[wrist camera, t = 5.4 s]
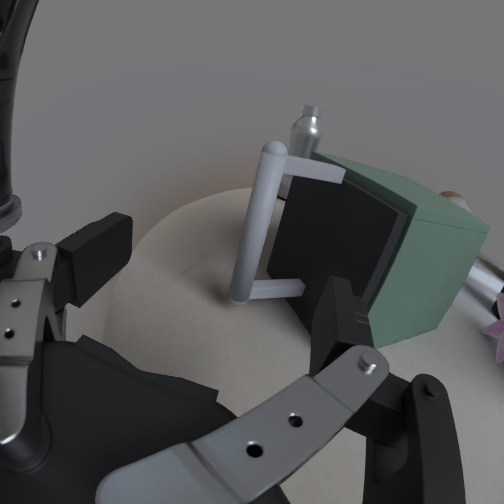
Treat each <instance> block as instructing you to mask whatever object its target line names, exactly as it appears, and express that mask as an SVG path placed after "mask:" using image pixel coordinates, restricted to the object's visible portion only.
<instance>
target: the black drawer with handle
mask: <svg viewBox="0 0 504 504" xmlns="http://www.w3.org/2000/svg"><path fill="white" fill-rule="evenodd" d="M345 171H346V170H345V169H343V168H341V167H339V166H336V165H332V164H328V163H324V162H319V161H315V160H311V159H309V158H306V157H301V156H298V157H296V156H291V155H288V152H287V148H286V147H285V145H283V143H281V142H279V141H270V142H268V143H266V144H265V145H264V146H263V148H262V151H261V155H260V159H259V163H258V168H257V172H256V176H255V180H254V184H253V188H252V193H251V197H250V201H249V205H248V210H247V214H246V218H245V223H244V227H243V231H242V236H241V240H240V244H239V249H238V253H237V258H236V262H235V266H234V271H233V275H232V280H231V284H230V289H229V293H228V298H229V301H230V302H231V303H232V304H233V305H235V306H243V305H245V304H246V303H247V302H248V300H249V299H265V298H281V297H285V298H286V299H287V301H288V302H289V304H290V305H291V306H292V308H293V309H294V311H295V312H296V314H297V315H298V317H299V318H300V319H301V321H302V322H303V324H304V325H305V327H306V328H307V330H308V331H309V333H310V334H311V335H312V321H313V317H314V313H315V310H316V308H317V305H318V303H319V300H320V298H321V296H322V293H323V291H324V289H325V286H326V284H327V281H328V279H329V277H330V276H331V275H332V276H336V277H339V278H343V279H346V280H349V281H350V282H351V287H352V293H353V295H355V296H358V297H360V298H361V300H362V301H363V303H364V304H365V305H366V307H367V305H368V303H369V302H370V300H371V298H372V296H373V294H374V292H375V290H376V288H377V286H378V284H379V281H380V279H381V277H382V275H383V273H384V271H385V269H386V267H387V265H388V262H389V260H390V258H391V256H392V253H393V251H394V249H395V247H396V244H397V242H398V240H399V237H400V235H401V233H402V230H403V228H404V225H405V223H406V220H407V218H408V214H407V213H405V212H404V211H402V210H400V209H399V208H397V207H396V206H394V205H392V204H391V203H389V202H387V201H386V200H384V199H382V198H381V197H379V196H377V195H376V194H374V193H372V192H370V191H369V190H367V189H365V188H364V187H362V186H360V185H358V184H356V183H355V182H353V181H351V180H349V179H347V178H346V177H344V174H345ZM283 174H288V175H293V177H292V181H291V185H290V188H289V192H288V196H287V199H286V203H285V206H284V210H283V213H282V217H281V221H280V224H279V228H278V231H277V235H276V238H275V242H274V245H273V249H272V252H271V256H270V259H269V263H268V266H267V269H266V270H267V272H268V273H269V275H270V276H271V278H272V279H273V280H254V279H255V276H256V272H257V268H258V265H259V261H260V257H261V254H262V250H263V246H264V243H265V239H266V235H267V231H268V228H269V224H270V220H271V217H272V213H273V209H274V205H275V202H276V198H277V194H278V190H279V187H280V183H281V179H282V175H283Z"/></svg>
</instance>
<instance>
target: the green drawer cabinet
mask: <svg viewBox="0 0 504 504" xmlns="http://www.w3.org/2000/svg"><path fill="white" fill-rule="evenodd" d="M310 159H311V160H315V161H319V162H324V163H328V164H332V165H336V166H339V167H341V168H343V169H345V170H346V171H345V174H344V177H346V178H347V179H349V180H351V181H353V182H355V183H356V184H358V185H360V186H362V187H364V188H365V189H367V190H369V191H370V192H372V193H374V194H376V195H377V196H379V197H381V198H382V199H384V200H386V201H387V202H389V203H391V204H392V205H394V206H396V207H397V208H399V209H400V210H402V211H404V212H405V213H407V214H408V218H407V220H406V223H405V225H404V228H403V230H402V233H401V235H400V237H399V240H398V242H397V244H396V247H395V249H394V251H393V253H392V256H391V258H390V260H389V262H388V265H387V267H386V269H385V271H384V273H383V275H382V277H381V279H380V281H379V284H378V286H377V288H376V290H375V292H374V294H373V296H372V298H371V300H370V302H369V303H368V305H367V307H366V308H367V313H368V317H369V322H370V324H369V325H370V327H371V332H372V337H373V342H374V348H375V349H376V348H380V347H383V346H386V345H389V344H392V343H396V342H399V341H402V340H405V339H408V338H411V337H414V336H416V335H419V334H422V333H425V332H428V331H430V330H433V329H436V328H437V326H438V325H439V323H440V322H441V320H442V318H443V317H444V315H445V314H446V312H447V310H448V309H449V307H450V305H451V304H452V302H453V300H454V299H455V297H456V295H457V293H458V292H459V290H460V288H461V286H462V284H463V283H464V281H465V279H466V277H467V275H468V273H469V271H470V269H471V267H472V265H473V263H474V261H475V259H476V257H477V255H478V253H479V251H480V249H481V246H482V244H483V242H484V240H485V237H486V235H487V233H488V231H489V228H490V225H489V224H487V223H486V222H484V221H482V220H481V219H479V218H478V217H476V216H475V215H473V214H471V213H470V212H468V211H466V210H465V209H463V208H462V207H460V206H458V205H456V204H455V203H453V202H451V201H450V200H448V199H446V198H444V197H442V196H441V195H439V194H437V193H435V192H433V191H432V190H429V189H428V188H426V187H424V186H422V185H420V184H418V183H416V182H414V181H413V180H411V179H409V178H406V177H403V176H400V175H397V174H394V173H391V172H388V171H385V170H382V169H378V168H375V167H372V166H368V165H365V164H361V163H358V162H354V161H351V160H347V159H343V158H340V157H336V156H332V155H327V154H324V153H320V152H316V151H312V152H311V156H310Z"/></svg>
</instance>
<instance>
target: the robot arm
mask: <svg viewBox="0 0 504 504" xmlns="http://www.w3.org/2000/svg"><path fill="white" fill-rule="evenodd" d="M38 1H39V0H0V215H1V214H3V213H5V212H6V211H8V210H9V209H10V208H11V207H12V205H13V194H12V180H11V136H12V135H11V134H12V118H13V107H14V97H15V89H16V82H17V76H18V70H19V65H20V61H21V57H22V52H23V48H24V44H25V40H26V36H27V33H28V30H29V27H30V24H31V21H32V18H33V15H34V12H35V10H36V7H37V4H38ZM132 228H133V220H132V218H131V217H130V216H128V215H124V214H121V213H117V212H113V213H111V214H110V215H108V216H106V217H104V218H103V219H101V220H99V221H96V222H92V223H90V224H88V225H87V226H85V227H83V228H82V229H80V230H78V231H76V232H75V233H73V234H71V235H70V236H68V237H66V238H65V239H63V240H62V241H60V242H59V243H57V244H55V245H53V244H52V243H48V242H38V243H34V244H31V245H29V246H28V247H26V248H25V249H24V250H23V252H21V251H16V250H13V249H12V243H11V239H10V238H9V237H7V236H3V235H2V236H0V504H290V502H289V500H288V499H287V497H286V496H285V494H284V492H283V491H282V489H281V487H280V485H281V484H282V483H283V482H284V481H286V480H287V479H288V478H289V477H291V476H292V475H293V474H294V473H295V472H297V471H298V470H299V469H300V468H301V467H302V466H303V465H305V464H306V463H307V462H308V461H309V460H310V459H311V458H312V457H313V456H315V455H316V454H317V453H318V452H319V451H320V450H321V449H322V448H323V447H324V446H325V445H326V444H328V443H329V442H330V441H331V440H332V439H333V438H334V437H335V436H336V435H337V434H338V433H339V432H340V431H341V430H342V429H343V428H344V427H346V428H348V429H350V430H352V431H354V432H356V433H359V434H361V435H363V436H365V437H366V461H365V479H364V492H363V503H362V504H466V500H465V488H464V479H463V470H462V463H461V456H460V450H459V444H458V438H457V433H456V428H455V423H454V418H453V414H452V410H451V405H450V401H449V397H448V393H447V390H446V388H445V387H444V385H443V384H442V383H441V382H440V381H439V380H438V379H437V378H435V377H433V376H431V375H428V374H419V375H417V376H416V377H414V379H413V380H412V381H411V382H408V381H406V380H404V379H402V378H399V377H397V376H395V375H393V374H391V373H390V372H389V364H388V361H387V360H386V358H385V357H384V356H383V355H382V354H381V353H380V352H379V351H377V350H376V349H375V348H374V342H373V337H372V332H371V327H370V325H369V324H370V322H369V317H368V313H367V308H366V305H365V304H364V303H363V301H362V300H361V298H360V297H358V296H355V295H353V293H352V287H351V282H350V281H349V280H346V279H343V278H339V277H336V276H332V275H331V276H330V277H329V279H328V281H327V284H326V286H325V289H324V291H323V293H322V296H321V298H320V300H319V303H318V305H317V308H316V310H315V313H314V317H313V321H312V336H311V354H310V370H309V374H306V375H304V376H302V377H301V378H299V379H298V380H296V381H295V382H293V383H292V384H290V385H289V386H287V387H286V388H284V389H283V390H281V391H280V392H278V393H277V394H275V395H274V396H272V397H271V398H269V399H268V400H266V401H264V402H263V403H261V404H260V405H258V406H256V407H255V408H253V409H251V410H250V411H248V412H247V413H245V414H243V415H241V416H240V417H237V416H236V415H235V414H233V413H232V412H231V411H230V410H228V409H227V408H226V407H224V406H223V405H221V404H220V403H218V402H216V400H217V396H218V392H219V391H218V390H215V389H212V388H209V387H206V386H203V385H200V384H197V383H194V382H192V381H189V380H186V379H183V378H180V377H173V376H167V375H161V374H156V373H150V372H145V371H141V370H139V369H137V368H136V367H135V366H133V365H132V364H131V363H129V362H128V361H127V360H125V359H124V358H123V357H122V356H120V355H119V354H118V353H117V352H115V351H114V350H113V349H112V348H109V347H107V346H105V345H103V344H101V343H99V342H97V341H95V340H93V339H91V338H89V337H87V336H85V335H82V336H81V338H80V339H79V340H78V341H77V342H76V343H75V342H69V341H66V313H67V312H66V306H65V305H66V304H67V303H70V304H73V305H74V306H76V307H79V308H80V307H81V306H82V305H83V304H84V303H85V302H87V301H88V299H90V298H91V297H92V296H93V295H94V294H95V293H96V292H97V291H98V290H99V289H100V288H101V287H102V286H104V285H105V284H106V283H107V282H108V281H109V280H110V279H111V278H112V277H113V276H114V275H116V273H118V272H119V271H120V270H121V269H122V268H123V267H125V266H126V265H127V263H128V262H129V260H130V257H131V253H132Z"/></svg>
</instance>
